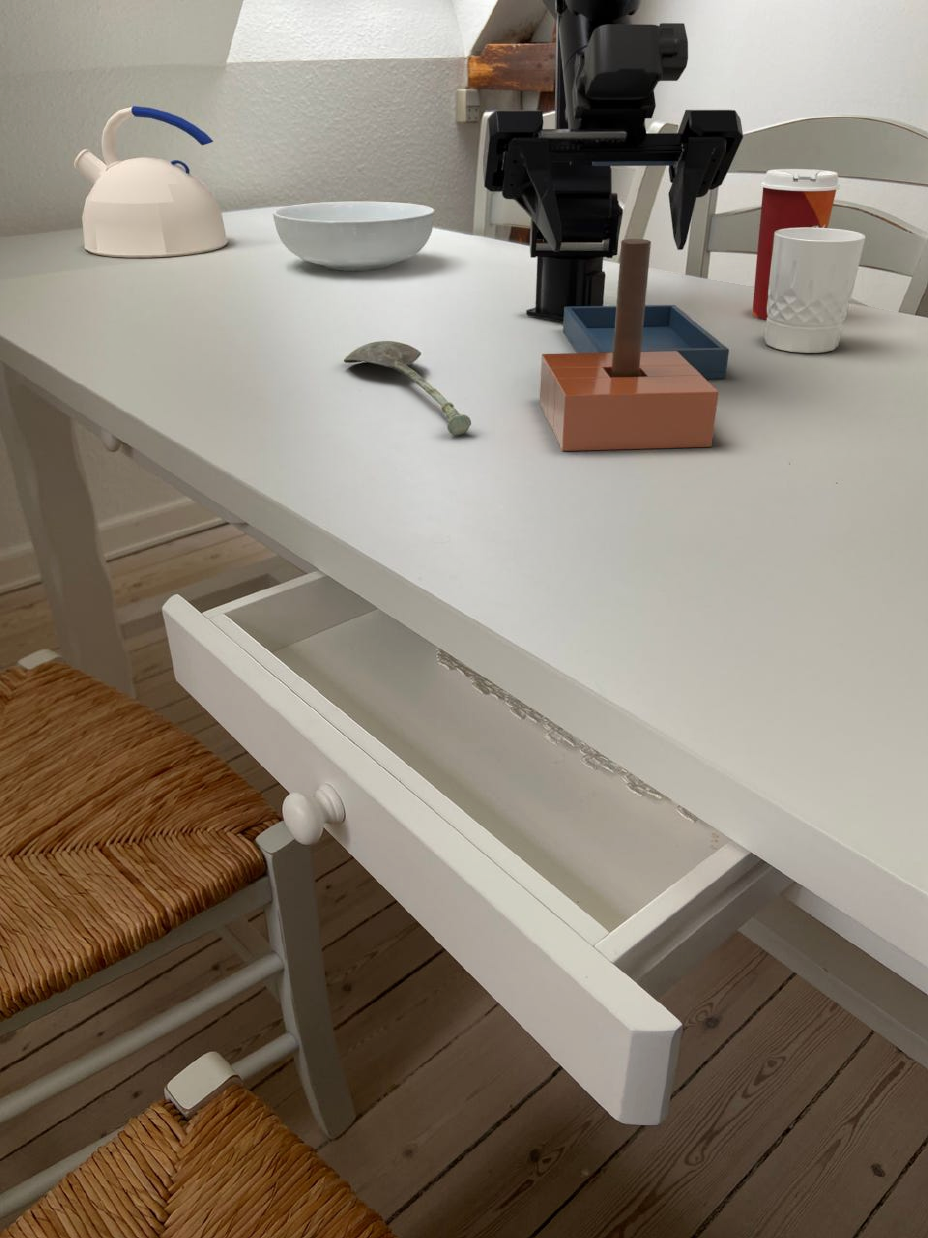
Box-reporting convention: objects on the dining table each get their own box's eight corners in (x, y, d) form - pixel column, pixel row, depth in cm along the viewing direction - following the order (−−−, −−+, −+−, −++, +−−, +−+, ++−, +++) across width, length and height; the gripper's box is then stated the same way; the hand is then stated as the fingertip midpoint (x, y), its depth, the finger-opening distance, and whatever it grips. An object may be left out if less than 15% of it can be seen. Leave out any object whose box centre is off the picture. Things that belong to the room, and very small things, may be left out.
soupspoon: (407, 364, 89) (338, 375, 87) (403, 327, 88) (333, 337, 86) (501, 429, 71) (416, 444, 69) (499, 384, 70) (412, 398, 68)
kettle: (120, 233, 151) (98, 102, 142) (248, 236, 149) (234, 103, 140) (55, 256, 134) (26, 108, 125) (199, 259, 131) (179, 109, 122)
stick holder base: (539, 403, 77) (541, 353, 75) (671, 400, 78) (677, 350, 76) (562, 451, 68) (565, 395, 66) (711, 447, 68) (719, 391, 66)
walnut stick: (601, 424, 73) (615, 241, 66) (616, 418, 74) (631, 237, 67) (624, 430, 71) (640, 244, 65) (639, 423, 73) (656, 240, 66)
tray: (562, 331, 97) (564, 306, 96) (672, 329, 98) (675, 304, 97) (596, 381, 82) (598, 351, 81) (725, 378, 83) (729, 349, 82)
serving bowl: (465, 260, 131) (465, 205, 128) (372, 287, 116) (369, 226, 112) (344, 246, 141) (341, 195, 137) (243, 269, 125) (237, 212, 122)
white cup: (844, 338, 95) (865, 229, 90) (843, 358, 88) (866, 242, 83) (761, 331, 97) (777, 225, 92) (754, 351, 91) (771, 238, 86)
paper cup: (820, 325, 99) (847, 176, 92) (743, 322, 101) (764, 174, 94) (812, 308, 106) (837, 168, 99) (740, 305, 107) (759, 167, 100)
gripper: (488, -23, 66) (504, 169, 62) (754, -21, 68) (786, 167, 64) (477, 103, 77) (489, 274, 73) (706, 102, 78) (731, 270, 74)
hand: (620, 246), depth 71 cm, fingers open, 9 cm apart
